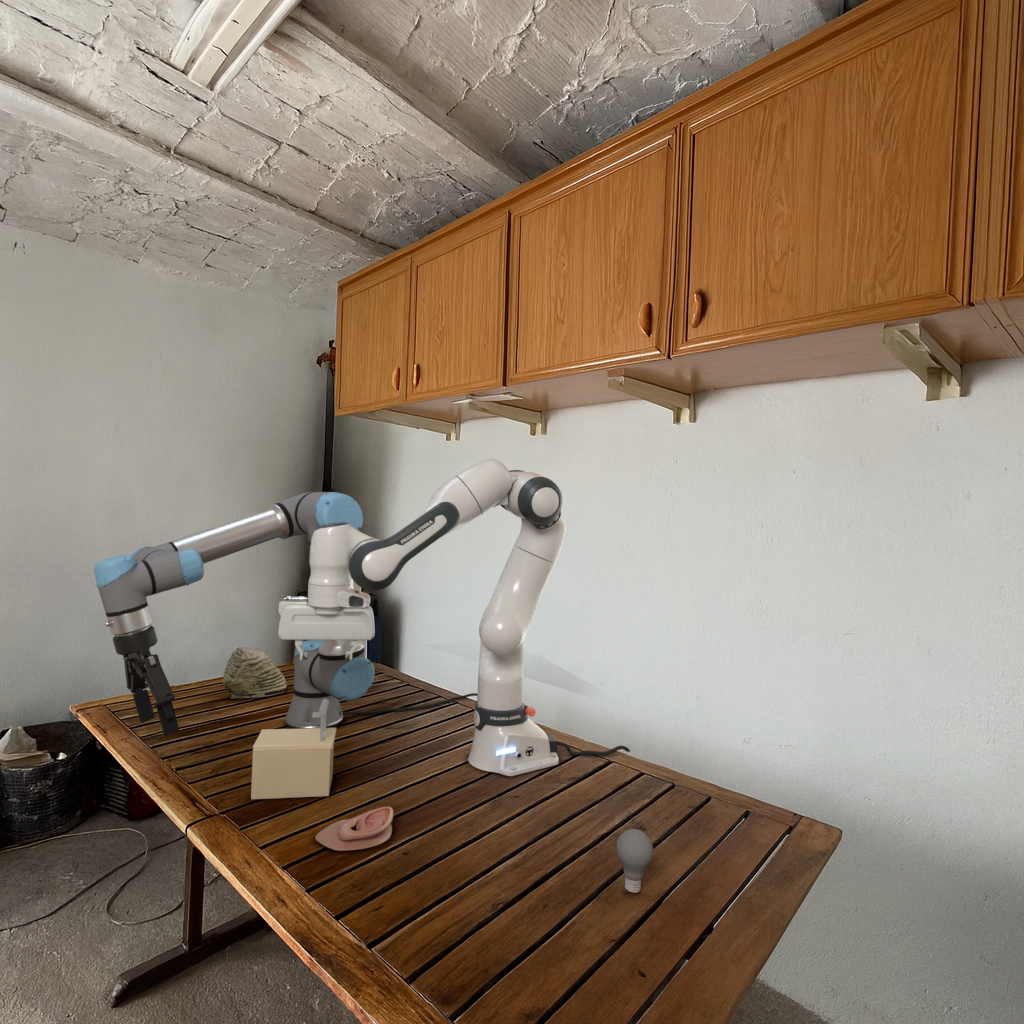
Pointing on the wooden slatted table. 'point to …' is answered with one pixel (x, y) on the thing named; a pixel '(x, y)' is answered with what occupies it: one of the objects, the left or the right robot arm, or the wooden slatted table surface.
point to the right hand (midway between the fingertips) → (326, 659)
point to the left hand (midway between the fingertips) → (159, 726)
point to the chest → (291, 773)
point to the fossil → (252, 674)
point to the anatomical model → (358, 831)
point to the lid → (298, 736)
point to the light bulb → (634, 857)
